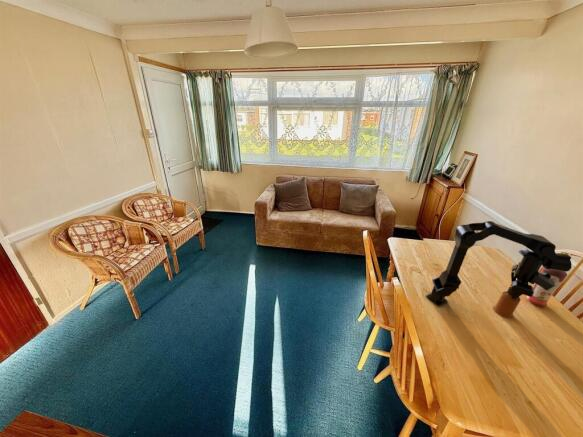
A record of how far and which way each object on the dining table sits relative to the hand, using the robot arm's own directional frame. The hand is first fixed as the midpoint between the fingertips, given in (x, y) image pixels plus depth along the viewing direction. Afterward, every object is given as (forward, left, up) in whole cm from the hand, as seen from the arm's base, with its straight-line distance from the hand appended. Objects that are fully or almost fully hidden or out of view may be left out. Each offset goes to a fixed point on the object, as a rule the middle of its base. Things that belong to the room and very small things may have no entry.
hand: (513, 294), depth 99 cm
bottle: (0, 0, -11) cm, 11 cm away
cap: (0, 0, +2) cm, 2 cm away
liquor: (+20, -3, -11) cm, 23 cm away
